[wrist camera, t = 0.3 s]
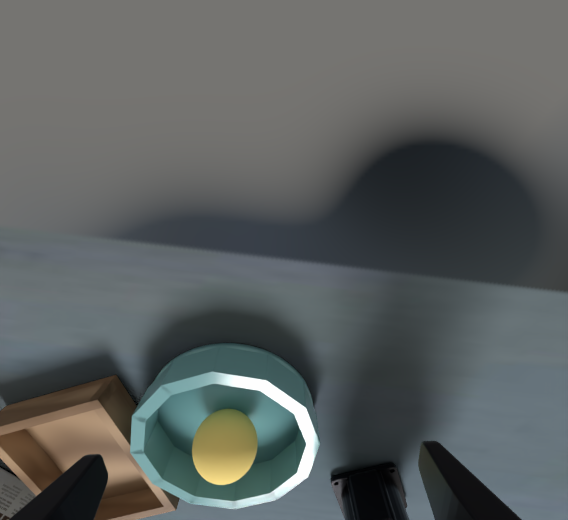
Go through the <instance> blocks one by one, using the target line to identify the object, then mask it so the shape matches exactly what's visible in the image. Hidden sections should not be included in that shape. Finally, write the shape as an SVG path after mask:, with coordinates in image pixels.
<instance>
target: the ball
mask: <svg viewBox="0 0 568 520" xmlns="http://www.w3.org/2000/svg"><path fill="white" fill-rule="evenodd" d="M257 446H258V440H257V433H256V430H255V427H254V425H253V423H252V421H251V420H250V419H249V418H248V417H247V416H246V415H245V414H244V413H242V412H241V411H238V410H235V409H221V410H218V411H216V412H214V413H212V414H211V415H209V416H208V417H207V418H206V419H205V420H204V421H203V422H202V423H201V424H200V426H199V428H198V429H197V431H196V434H195V436H194V440H193V445H192V457H193V462H194V465H195V467H196V469H197V471H198V473H199V474H200V475H201V476H202V477H203V478H204V479H205V480H206V481H208V482H210V483H213V484H216V485H226V484H230V483H233V482H235V481H237V480H239V479H240V478H241V477H242V476H244V475H245V474H246V472H247V471H248V470H249V469H250V467H251V465H252V464H253V461H254V459H255V456H256V453H257Z"/></svg>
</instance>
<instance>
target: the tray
mask: <svg viewBox="0 0 568 520" xmlns="http://www.w3.org/2000/svg"><path fill="white" fill-rule="evenodd" d="M136 408H137V406H136V404H135V403H134V401H133V400H132V398H131V397H130V395H129V394H128V392H127V390H126V389H125V387H124V386H123V384H122V383H121V381H120V380H119V378H118V377H117V375H113V376H110V377H106V378H103V379H99V380H96V381H92V382H89V383H85V384H82V385H78V386H75V387H71V388H67V389H64V390H60V391H57V392H53V393H50V394H46V395H43V396H39V397H36V398H32V399H29V400H25V401H22V402H18V403H15V404H11V405H8V406H6V407H4V408H3V409H2V410H1V411H0V458H1V459H2V460H3V462H4V463H5V464H6V465H7V466H8V467H9V468H10V469H11V470H12V471H13V472H14V473H15V474H16V475H17V476H18V477H19V478H20V479H21V481H22V482H23V483H24V484H25V485H26V486H27V487H28V488H29V489H30V490H31V491H32V492H33V493H34V494H35V495H36V496H37V495H38V494H39V493H40V492H42V491H43V490H44V489H45V488H46V487H48V486H49V485H50V484H51V483H52V482H53V481H55V480H56V479H57V478H58V477H59V476H60V475H62V474H63V473H64V472H65V471H66V470H68V469H69V468H70V467H71V466H72V465H73V464H75V463H76V462H77V461H78V460H79V459H80V458H82V457H83V456H85V455H88V454H100V455H101V456H102V457H103V460H104V463H105V466H106V468H107V471H108V482H107V485H106V488H105V491H104V494H103V496H102V499H101V502H100V504H99V507H98V510H97V513H96V515H95V518H94V520H136V519H140V518H144V517H149V516H153V515H157V514H162V513H166V512H171V511H175V510H176V509H177V505H178V502H179V497H177V496H175V495H173V494H171V493H169V492H167V491H165V490H163V489H161V488H159V487H157V486H156V485H154V484H152V482H151V481H150V480H149V478H148V477H147V475H146V474H145V473H144V471H143V470H142V469H141V467H140V466H139V464H138V463H137V462H136V460H135V459H134V457H133V456H132V455H131V453H130V445H131V424H132V415H133V413H134V411H135V409H136Z"/></svg>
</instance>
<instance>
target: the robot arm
mask: <svg viewBox="0 0 568 520" xmlns="http://www.w3.org/2000/svg"><path fill="white" fill-rule="evenodd" d="M418 466H419V471H420V474H421V477H422V480H423V484H424V487H425V490H426V493H427V496H428V499H429V502H430V505H431V508H432V511H433V515H434V518H435V520H521V519H520V518H519V517H518V516H517V515H516V514H515V513H514V512H513V511H512V510H511V509H510V508H509V507H508V506H506V505H505V504H504V503H503V502H502V501H501V500H500V499H499V498H498V497H497V496H496V495H495V494H494V493H493V492H491V491H490V490H489V489H488V488H487V487H486V486H485V485H484V484H483V483H482V482H481V481H480V480H479V479H477V478H476V477H475V476H474V475H473V474H472V473H471V472H470V471H469V470H468V469H467V468H466V467H465V466H464V465H462V464H461V463H460V462H459V461H458V460H457V459H456V458H455V457H454V456H453V455H452V454H451V453H450V452H449V451H447V450H446V449H445V448H444V447H443V446H442V445H441V444H440V443H438V442H437V441H423V442H422V443H421V446H420V453H419V460H418ZM107 482H108V471H107V468H106V466H105V463H104V460H103V457H102V456H101V455H100V454H88V455H85V456H83V457H82V458H80V459H79V460H78V461H77V462H76V463H75V464H73V465H72V466H71V467H70V468H69V469H68V470H66V471H65V472H64V473H63V474H62V475H60V476H59V477H58V478H57V479H56V480H55V481H53V482H52V483H51V484H50V485H49V486H48V487H46V488H45V489H44V490H43V491H42V492H40V493H39V494H38V495H37V496H36V497H35V498H33V499H32V500H31V501H30V502H29V503H28V504H26V505H25V506H24V507H23V508H22V509H20V510H19V511H18V512H17V513H16V514H15V515H13V516H12V517H11V518H10V519H9V520H94V518H95V515H96V513H97V510H98V507H99V504H100V502H101V499H102V496H103V494H104V491H105V488H106V485H107ZM331 485H332V488H333V490H334V493H335V495H336V498H337V500H338V503H339V505H340V508H341V510H342V513H343V515H344V518H345V520H409V518H408V515H407V512H406V509H405V508H406V507H407V503H406V499H405V496H404V492H403V488H402V485H401V481H400V477H399V474H398V470H397V467H396V465H395V464H394V463H389V464H385V465H380V466H376V467H371V468H367V469H363V470H358V471H354V472H350V473H345V474H341V475H336V476H333V477H331Z"/></svg>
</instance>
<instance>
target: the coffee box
mask: <svg viewBox="0 0 568 520" xmlns="http://www.w3.org/2000/svg"><path fill="white" fill-rule="evenodd" d="M35 497H36V495H35V494H34V493H33V492H32V491H31V490H30V489H29V488H28V487H27V486H26V485H25V484H24V483H23V482H22V481H21V479H20V478H18V477H16V476H14V475H13V474H11V473H9V472H7V471H6V470H4V469H2V468H0V520H9V519H10V518H11V517H12V516H13V515H15V514H16V513H17V512H18V511H19V510H20V509H22V508H23V507H24V506H25V505H26V504H28V503H29V502H30V501H31V500H32V499H33V498H35Z"/></svg>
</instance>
